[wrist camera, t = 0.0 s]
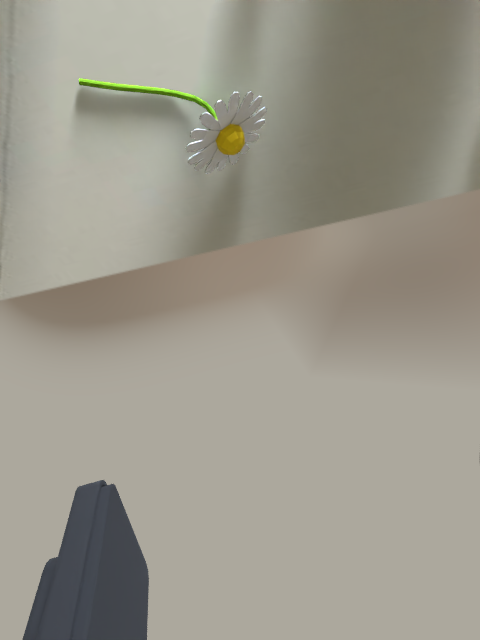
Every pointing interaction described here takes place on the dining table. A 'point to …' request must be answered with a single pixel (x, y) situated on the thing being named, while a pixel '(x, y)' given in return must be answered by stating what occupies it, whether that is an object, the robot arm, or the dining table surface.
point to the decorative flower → (211, 125)
